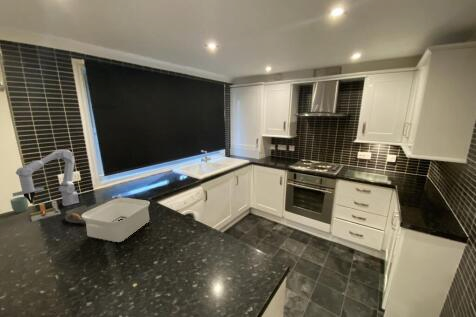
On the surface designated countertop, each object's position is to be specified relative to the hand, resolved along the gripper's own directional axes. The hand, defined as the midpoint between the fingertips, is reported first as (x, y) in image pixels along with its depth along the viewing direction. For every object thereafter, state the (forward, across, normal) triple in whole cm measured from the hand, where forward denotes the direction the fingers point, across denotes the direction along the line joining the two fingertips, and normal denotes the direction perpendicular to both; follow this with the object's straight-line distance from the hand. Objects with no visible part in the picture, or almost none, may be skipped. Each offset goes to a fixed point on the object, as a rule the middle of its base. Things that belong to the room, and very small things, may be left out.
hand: (31, 202), depth 134 cm
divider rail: (+10, -6, +1) cm, 11 cm away
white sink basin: (+10, -34, +65) cm, 74 cm away
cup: (+10, +6, -17) cm, 20 cm away
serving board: (+11, -32, +27) cm, 43 cm away
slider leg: (+9, -5, +1) cm, 11 cm away
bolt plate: (+10, -6, +6) cm, 13 cm away
